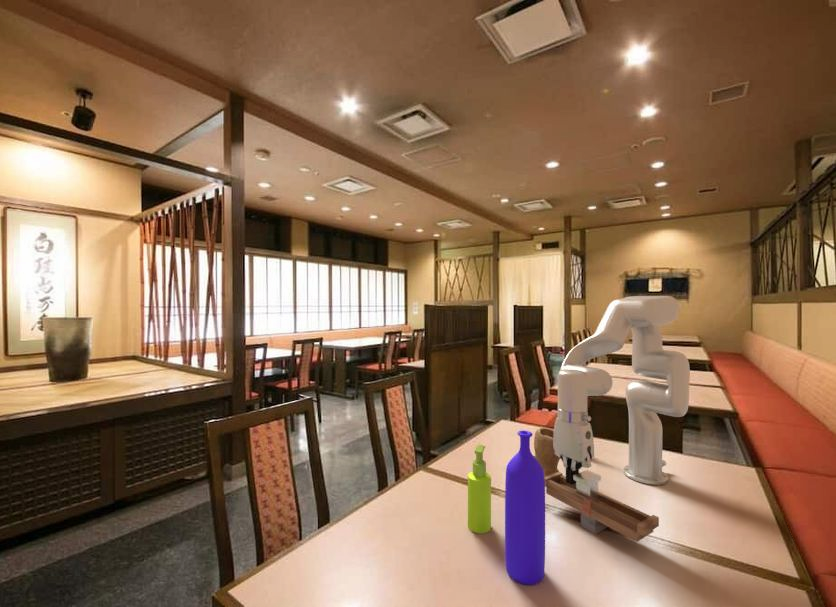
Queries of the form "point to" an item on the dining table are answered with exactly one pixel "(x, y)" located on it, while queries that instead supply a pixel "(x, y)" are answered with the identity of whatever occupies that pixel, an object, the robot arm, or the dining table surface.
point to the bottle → (525, 516)
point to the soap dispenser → (479, 495)
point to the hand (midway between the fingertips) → (572, 482)
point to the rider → (587, 484)
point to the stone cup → (546, 451)
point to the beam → (602, 510)
